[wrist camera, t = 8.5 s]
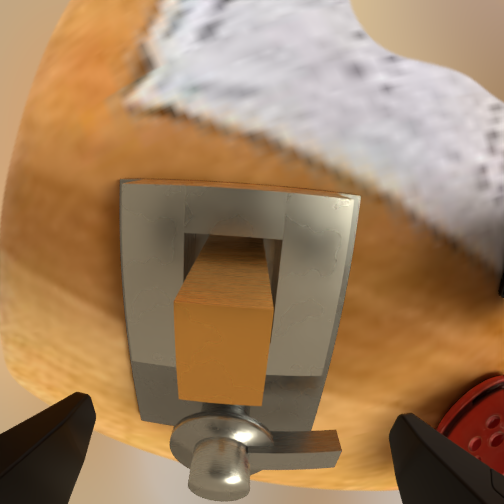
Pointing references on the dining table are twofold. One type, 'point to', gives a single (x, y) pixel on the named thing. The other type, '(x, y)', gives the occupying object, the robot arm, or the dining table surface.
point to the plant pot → (479, 423)
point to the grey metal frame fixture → (283, 326)
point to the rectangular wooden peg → (224, 323)
